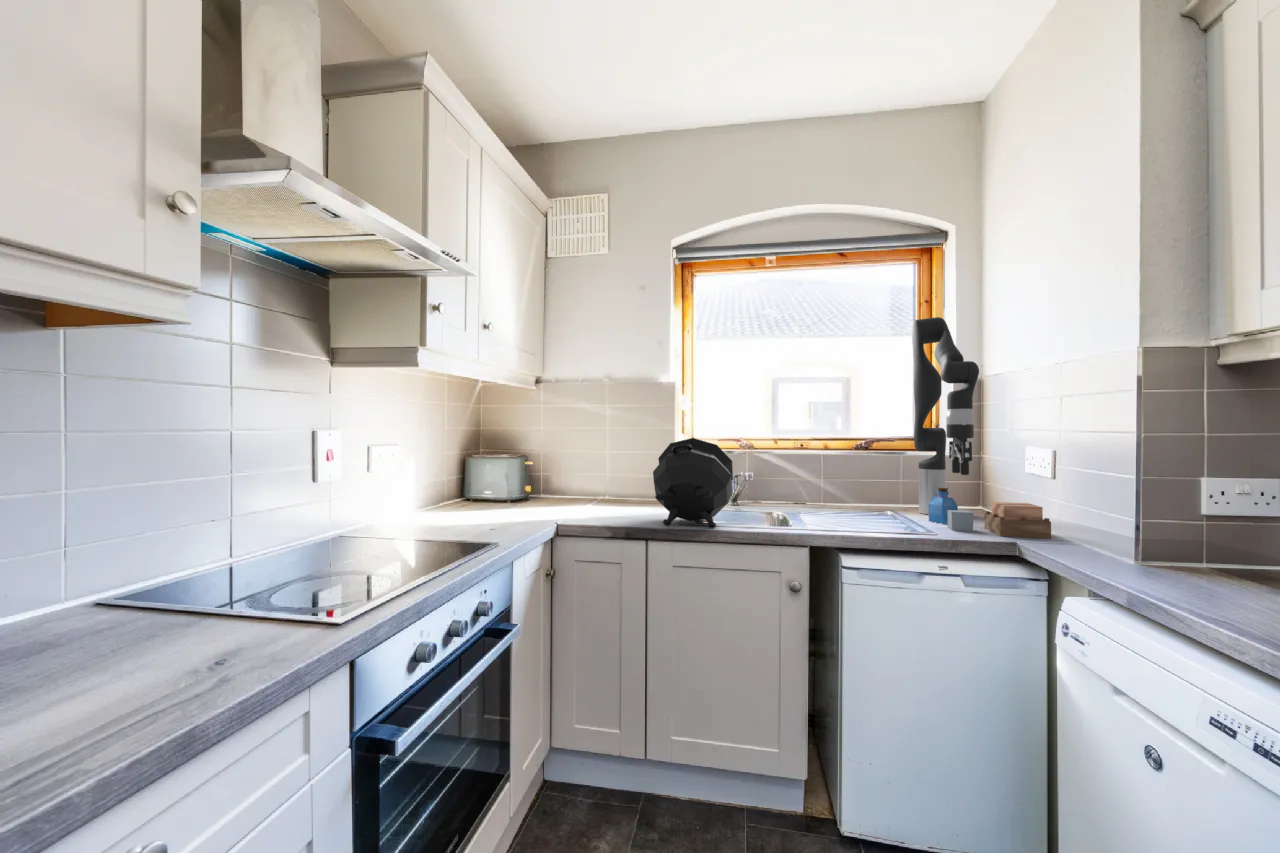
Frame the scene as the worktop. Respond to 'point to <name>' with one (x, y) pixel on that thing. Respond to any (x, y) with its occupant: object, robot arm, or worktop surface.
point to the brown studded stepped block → (1017, 520)
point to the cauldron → (693, 480)
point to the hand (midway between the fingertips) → (960, 473)
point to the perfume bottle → (941, 506)
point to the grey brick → (960, 520)
